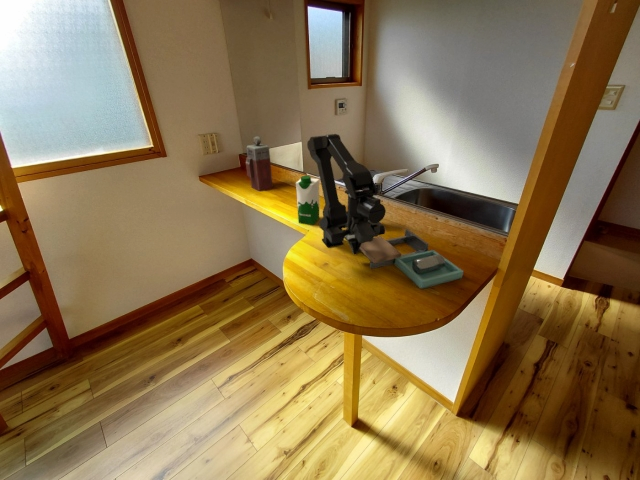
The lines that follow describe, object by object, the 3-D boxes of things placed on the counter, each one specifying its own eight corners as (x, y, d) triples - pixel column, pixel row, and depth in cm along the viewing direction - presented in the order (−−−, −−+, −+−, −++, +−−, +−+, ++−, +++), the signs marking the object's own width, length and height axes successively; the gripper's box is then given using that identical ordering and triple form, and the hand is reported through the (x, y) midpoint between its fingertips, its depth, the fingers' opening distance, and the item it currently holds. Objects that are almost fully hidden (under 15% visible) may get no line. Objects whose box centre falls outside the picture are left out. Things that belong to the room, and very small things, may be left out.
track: (371, 269, 97) (372, 255, 95) (354, 251, 107) (355, 239, 105) (426, 256, 103) (428, 243, 101) (406, 240, 113) (407, 229, 111)
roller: (419, 276, 92) (422, 264, 90) (410, 268, 96) (413, 257, 94) (443, 270, 95) (446, 259, 93) (433, 263, 99) (436, 251, 96)
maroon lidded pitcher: (247, 188, 170) (240, 137, 156) (264, 184, 176) (259, 134, 163) (255, 192, 164) (249, 139, 150) (272, 188, 170) (268, 136, 157)
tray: (421, 289, 88) (422, 282, 86) (394, 264, 99) (395, 258, 98) (461, 278, 92) (463, 271, 91) (432, 255, 104) (433, 249, 102)
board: (373, 267, 96) (374, 259, 95) (355, 248, 107) (356, 241, 106) (400, 261, 99) (401, 253, 98) (380, 243, 110) (380, 236, 109)
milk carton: (295, 223, 128) (293, 178, 119) (303, 215, 136) (301, 171, 126) (315, 226, 125) (314, 179, 116) (321, 217, 133) (321, 173, 123)
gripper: (339, 226, 83) (338, 272, 90) (397, 216, 88) (391, 260, 96) (324, 211, 92) (325, 254, 99) (378, 203, 97) (374, 244, 105)
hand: (354, 254), depth 100 cm, fingers closed
